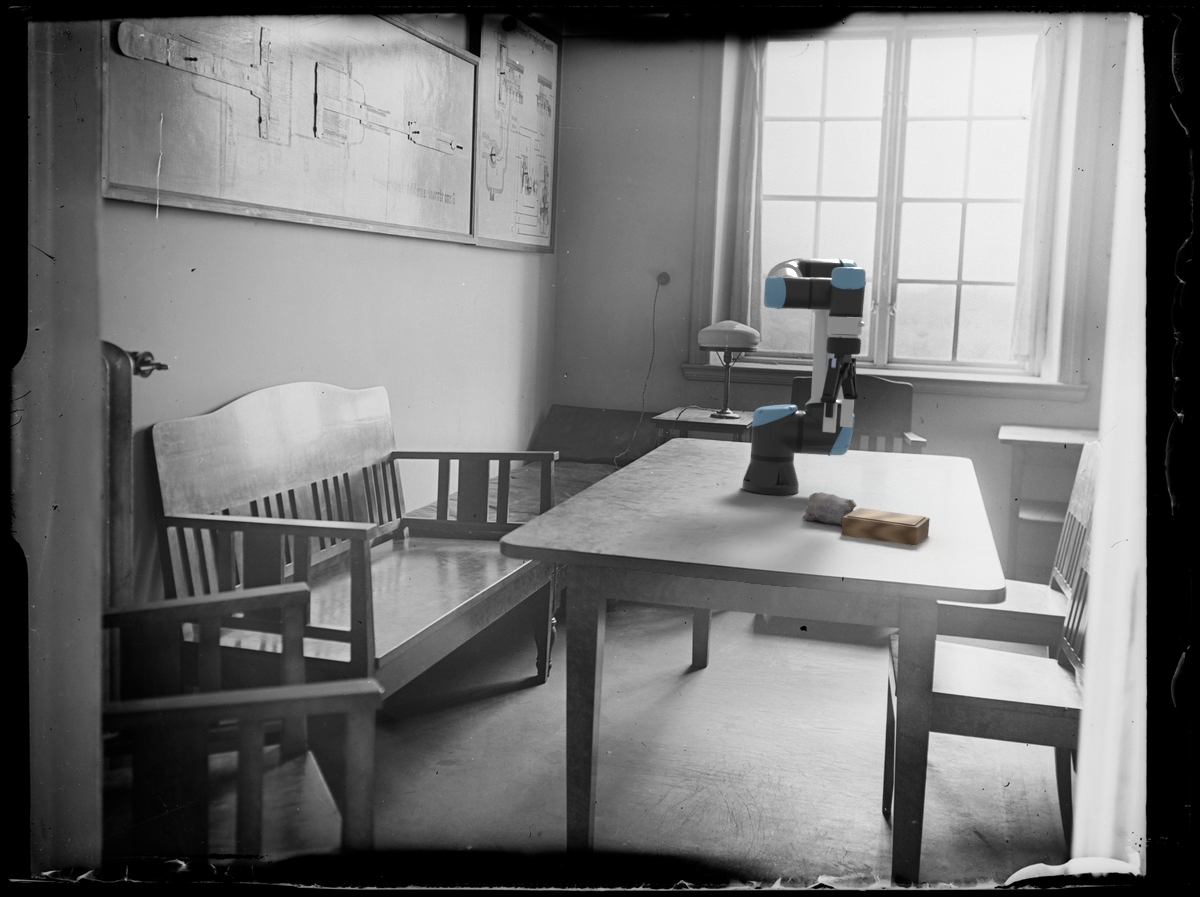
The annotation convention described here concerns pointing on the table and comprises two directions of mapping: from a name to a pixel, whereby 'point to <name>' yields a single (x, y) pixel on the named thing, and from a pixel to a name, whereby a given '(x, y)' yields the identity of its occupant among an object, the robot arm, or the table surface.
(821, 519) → the stone
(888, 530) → the walnut slab
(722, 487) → the table surface
